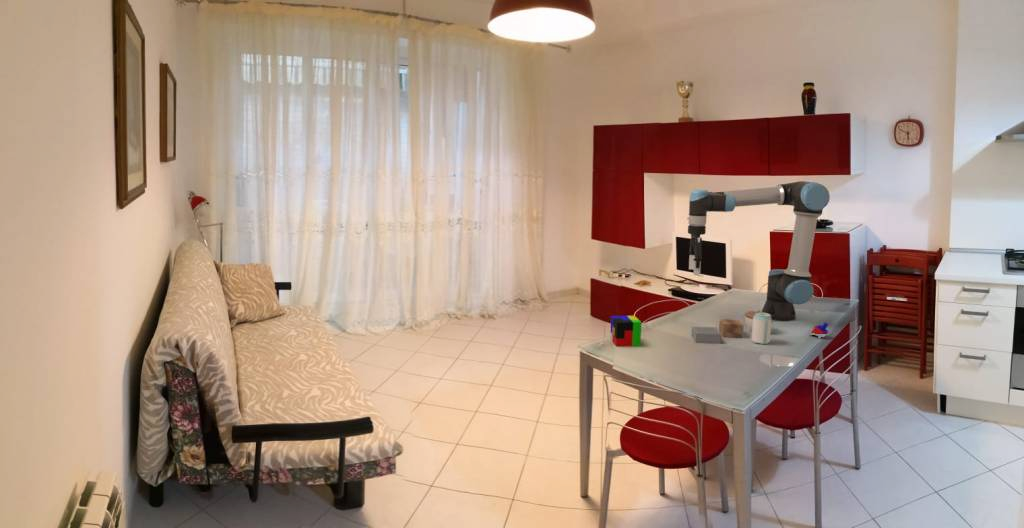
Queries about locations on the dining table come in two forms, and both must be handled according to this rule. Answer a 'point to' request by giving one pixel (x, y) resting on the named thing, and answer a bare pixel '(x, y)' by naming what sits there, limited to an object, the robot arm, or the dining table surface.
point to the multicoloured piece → (820, 329)
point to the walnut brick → (730, 328)
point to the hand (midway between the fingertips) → (694, 272)
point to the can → (761, 328)
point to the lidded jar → (750, 319)
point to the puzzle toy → (625, 331)
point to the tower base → (706, 335)
